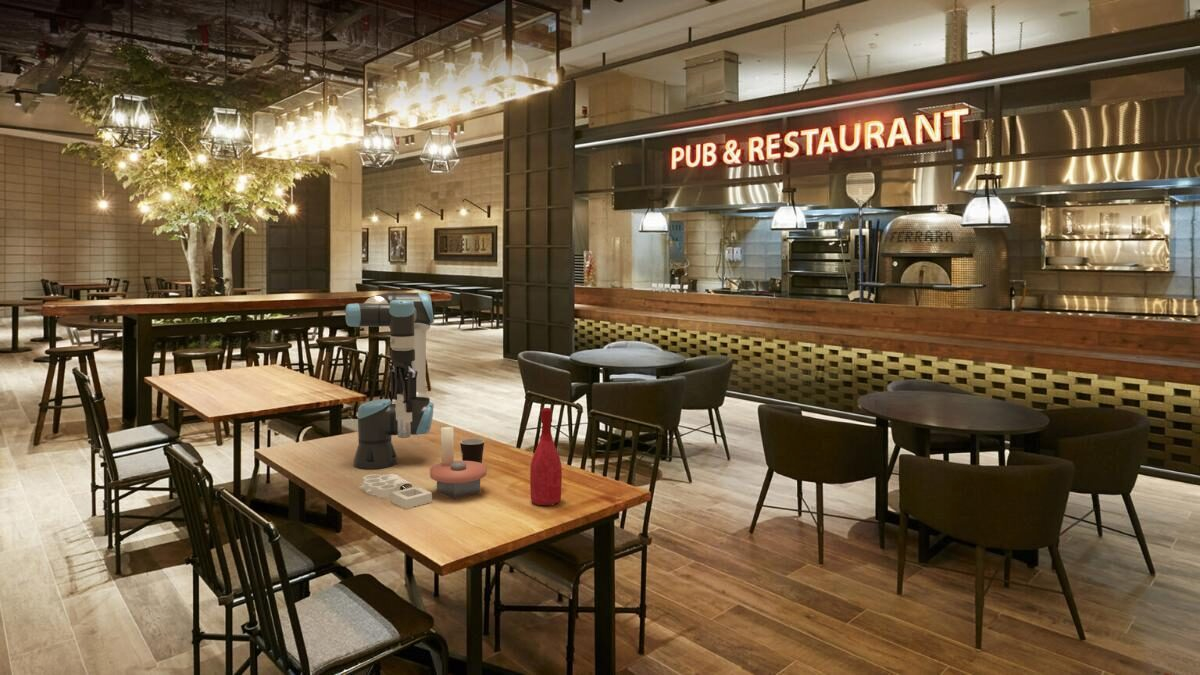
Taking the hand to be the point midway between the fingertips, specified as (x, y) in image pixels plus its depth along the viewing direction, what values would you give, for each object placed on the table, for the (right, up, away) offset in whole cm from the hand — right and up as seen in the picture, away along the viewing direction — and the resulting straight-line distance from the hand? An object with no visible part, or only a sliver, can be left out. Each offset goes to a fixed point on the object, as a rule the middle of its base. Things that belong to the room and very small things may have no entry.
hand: (404, 420), depth 231 cm
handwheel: (+17, -18, +2) cm, 25 cm away
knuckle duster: (-8, -24, +5) cm, 26 cm away
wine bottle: (+46, -25, -5) cm, 53 cm away
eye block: (+4, -25, -7) cm, 26 cm away
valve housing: (+17, -24, +3) cm, 29 cm away
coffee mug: (+17, -21, +31) cm, 41 cm away
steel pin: (0, -5, +1) cm, 5 cm away
